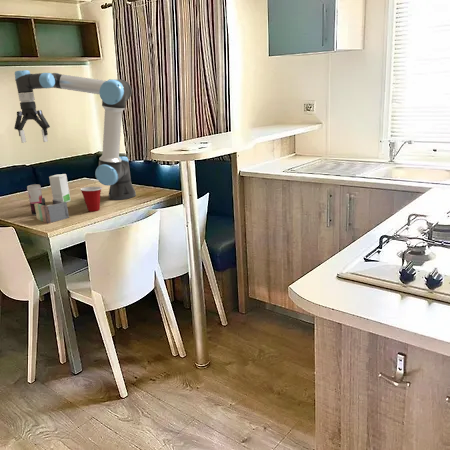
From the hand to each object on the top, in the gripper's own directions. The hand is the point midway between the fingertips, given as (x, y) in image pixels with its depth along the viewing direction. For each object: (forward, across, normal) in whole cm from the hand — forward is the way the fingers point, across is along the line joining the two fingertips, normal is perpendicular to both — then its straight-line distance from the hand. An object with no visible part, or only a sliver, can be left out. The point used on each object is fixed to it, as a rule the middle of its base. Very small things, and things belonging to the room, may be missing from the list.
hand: (34, 142), depth 255 cm
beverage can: (+35, +8, -18) cm, 40 cm away
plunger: (+34, +18, -24) cm, 46 cm away
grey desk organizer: (+35, +22, -26) cm, 49 cm away
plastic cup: (+35, +36, -10) cm, 51 cm away
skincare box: (+35, +7, +5) cm, 36 cm away
